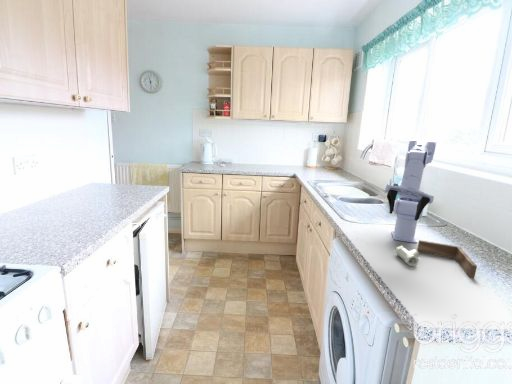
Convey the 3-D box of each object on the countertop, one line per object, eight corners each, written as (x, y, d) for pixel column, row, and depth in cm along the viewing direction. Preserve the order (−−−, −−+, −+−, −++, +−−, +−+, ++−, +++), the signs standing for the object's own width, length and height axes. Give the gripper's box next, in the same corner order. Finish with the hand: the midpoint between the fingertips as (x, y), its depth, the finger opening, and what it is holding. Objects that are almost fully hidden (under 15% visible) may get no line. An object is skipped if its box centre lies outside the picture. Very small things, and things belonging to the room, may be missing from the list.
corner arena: (417, 250, 104) (419, 240, 103) (457, 257, 100) (459, 246, 99) (426, 269, 90) (428, 257, 89) (474, 278, 86) (477, 266, 85)
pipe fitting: (413, 257, 99) (394, 255, 99) (416, 247, 99) (396, 244, 98) (426, 268, 92) (406, 266, 91) (429, 257, 91) (409, 255, 91)
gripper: (391, 169, 97) (382, 204, 92) (439, 180, 92) (432, 218, 87) (387, 179, 103) (378, 212, 98) (431, 190, 98) (424, 225, 93)
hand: (403, 215), depth 93 cm, fingers open, 7 cm apart
